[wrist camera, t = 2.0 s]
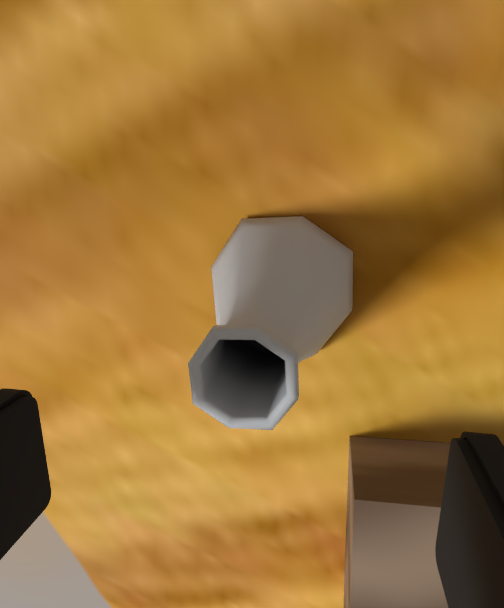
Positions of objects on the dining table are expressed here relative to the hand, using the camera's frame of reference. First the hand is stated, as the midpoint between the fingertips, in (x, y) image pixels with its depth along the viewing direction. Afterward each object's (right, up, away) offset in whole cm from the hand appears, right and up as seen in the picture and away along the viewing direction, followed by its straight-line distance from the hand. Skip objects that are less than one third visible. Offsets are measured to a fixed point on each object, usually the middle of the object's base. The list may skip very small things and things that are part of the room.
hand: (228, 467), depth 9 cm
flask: (+2, +5, +12) cm, 13 cm away
